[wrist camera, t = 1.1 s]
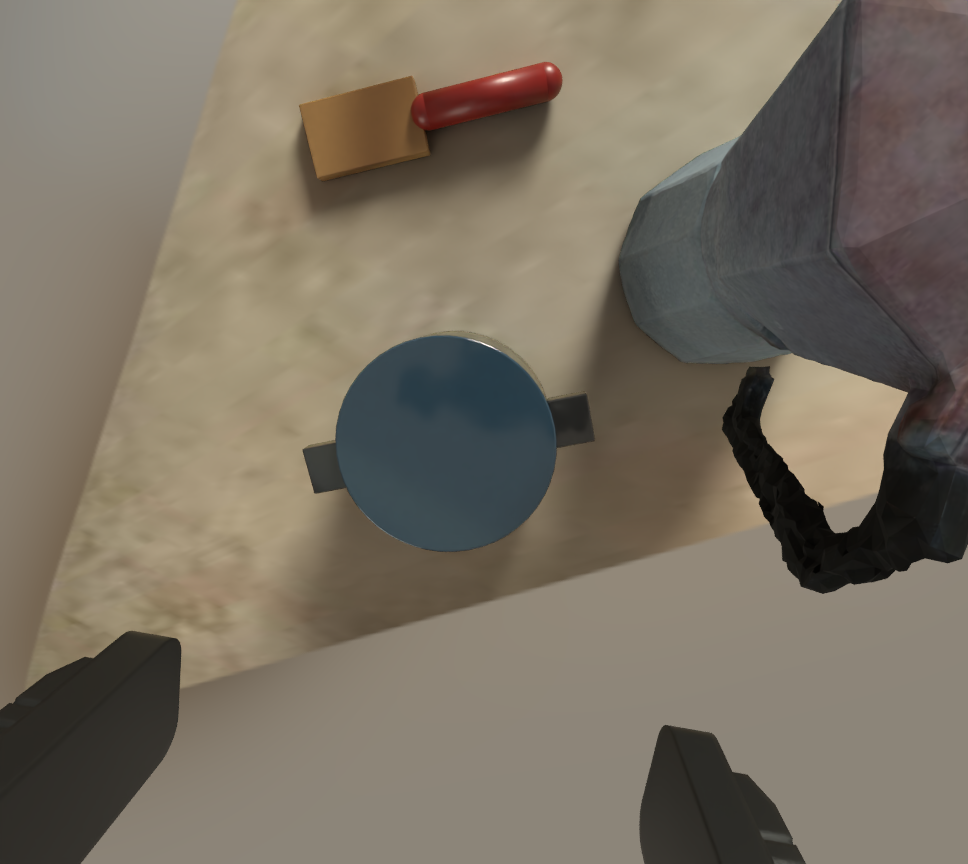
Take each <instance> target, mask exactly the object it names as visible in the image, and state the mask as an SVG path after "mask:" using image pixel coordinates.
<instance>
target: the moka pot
mask: <svg viewBox="0 0 968 864" xmlns="http://www.w3.org/2000/svg"><path fill="white" fill-rule="evenodd" d="M619 269H620V275H621V282H622V286H623V291H624V294H625V297H626V300H627V303H628V305H629V308H630V311H631V314H632V316H633V319H634V322H635V323H636V325H637V326H638V327H639V328H640V329H641V330H642V331H643V332H645V333H646V334H647V335H648V336H649V337H651V338H652V339H653V340H654V341H655V342H656V343H657V344H659V345H660V346H661V347H663V348H664V349H665V350H667V351H668V352H669V353H671V354H672V355H674V356H675V357H676V358H677V359H678V360H679V361H681V362H685V363H701V364H703V363H710V364H724V363H741V362H754V361H758V360H762V359H766V358H771V357H775V356H778V355H786V354H790V353H793V354H794V355H797V356H800V357H802V358H805V359H808V360H813V361H816V362H818V363H821V364H823V365H828V366H832V367H835V368H838V369H841V370H844V371H846V372H849V373H852V374H855V375H858V376H862V377H865V378H867V379H869V380H872V381H875V382H879V383H883V384H885V385H888V386H891V387H894V388H896V389H899V390H902V391H905V392H908V394H907V397H906V399H905V401H904V403H903V405H902V407H901V409H900V411H899V413H898V415H897V417H896V419H895V421H894V423H893V425H892V427H891V429H890V431H889V433H888V437H887V441H886V446H885V450H884V454H883V456H884V471H883V476H882V480H881V485H880V490H879V493H878V496H877V499H876V502H875V504H874V505H873V507H872V508H871V510H870V511H869V513H868V514H867V515H866V517H865V518H864V520H863V521H862V523H861V524H860V526H859V527H853V528H851V529H850V530H849V531H848V532H845V533H834V532H833V531H832V530H831V529H830V527H829V525H828V523H827V521H826V518H825V515H824V512H823V508H824V506H822V505H821V504H820V503H819V502H818V504H817V502H816V501H815V500H813V499H811V498H810V497H809V496H807V495H806V494H805V492H804V488H803V486H802V485H801V484H800V482H799V481H798V479H797V478H796V477H795V475H794V474H793V473H792V472H790V471H789V470H788V465H787V464H786V463H785V462H784V461H783V458H782V457H781V456H780V455H779V454H777V453H776V452H775V451H774V449H773V448H772V447H771V446H770V444H768V443H767V440H766V437H765V436H764V435H763V434H762V429H761V426H760V417H761V412H762V409H763V406H764V404H765V401H766V399H767V396H768V394H769V391H770V389H771V386H772V384H773V382H774V378H772V377H771V375H770V374H769V369H770V366H768V367H749V368H748V370H747V373H746V376H745V377H744V378H743V379H742V380H741V383H740V387H739V391H738V394H737V395H736V396H735V398H734V399H733V400H732V406H730V407H728V409H727V410H726V412H725V414H724V416H723V422H724V423H723V427H722V430H723V432H724V433H725V435H726V436H727V438H728V440H729V443H730V444H731V446H732V447H733V454H734V456H735V458H736V460H737V462H738V464H739V465H740V467H741V468H742V469H743V470H744V473H745V476H746V479H747V481H748V483H749V485H750V487H751V489H752V491H753V493H754V494H755V496H756V497H757V498H759V499H760V501H759V505H760V507H761V509H762V512H763V515H764V517H765V518H766V519H767V520H768V521H769V523H770V526H771V527H772V529H773V530H774V534H775V537H776V538H777V539H778V540H779V541H780V542H781V545H782V560H783V561H785V562H787V567H788V570H789V571H790V572H791V573H792V574H793V575H794V576H795V577H796V578H798V579H799V582H800V585H801V587H804V588H807V589H810V590H813V591H816V592H819V593H822V594H824V593H828V592H832V591H836V590H837V589H839V588H841V587H843V586H845V585H846V584H849V583H852V584H854V585H855V584H861V583H868V582H875V581H878V580H882V579H886V578H888V577H889V576H890V575H891V574H892V573H893V572H894V571H895V570H897V571H899V572H901V571H907V570H908V568H909V566H910V565H911V563H913V562H916V561H919V560H921V559H924V558H926V559H931V560H935V561H940V562H945V563H950V562H953V561H957V560H960V559H962V557H963V555H964V552H965V550H966V547H967V545H968V0H842V2H841V3H840V4H839V6H838V7H837V8H836V10H835V11H834V13H833V14H832V15H831V17H830V18H829V19H828V21H827V22H826V24H825V25H824V26H823V28H822V29H821V30H820V32H819V33H818V34H817V36H816V37H815V38H814V40H813V41H812V42H811V43H810V45H809V46H808V47H807V49H806V50H805V51H804V53H803V54H802V55H801V57H800V58H799V59H798V61H797V62H796V64H795V65H794V66H793V68H792V69H791V70H790V72H789V73H788V75H787V76H786V77H785V79H784V80H783V81H782V83H781V84H780V85H779V87H778V88H777V89H776V91H775V92H774V93H773V95H772V96H771V97H770V98H769V100H768V101H767V102H766V104H765V105H764V106H763V107H762V109H761V110H760V111H759V113H758V114H757V115H756V116H755V118H754V119H753V120H752V122H751V123H750V124H749V126H748V127H747V128H746V130H745V131H744V132H743V134H742V135H741V136H739V137H737V138H735V139H733V140H731V141H729V142H727V143H725V144H722V145H720V146H718V147H716V148H714V149H711V150H709V151H707V152H705V153H703V154H701V155H699V156H698V157H696V158H695V159H693V160H692V161H690V162H689V163H687V164H686V165H685V166H683V167H682V168H680V169H679V170H677V171H676V172H675V173H673V174H672V175H671V176H669V177H668V178H666V179H665V180H664V181H662V182H661V183H659V184H658V185H657V186H656V187H654V188H653V189H652V190H650V191H649V192H647V193H646V194H645V195H644V196H643V197H642V198H641V199H640V201H639V203H638V205H637V207H636V210H635V212H634V215H633V218H632V220H631V223H630V225H629V228H628V231H627V235H626V237H625V240H624V242H623V245H622V248H621V253H620V257H619ZM818 505H819V506H818Z"/></svg>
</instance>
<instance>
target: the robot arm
mask: <svg viewBox="0 0 968 864" xmlns="http://www.w3.org/2000/svg"><path fill="white" fill-rule="evenodd" d="M180 668H181V645H180V642H179V641H178V639H176V638H170V637H165V636H159V635H153V634H147V633H142V632H136V631H128V632H126V633H124V634H123V635H121V636H120V637H119V638H118V639H117V640H115V641H114V642H113V643H112V644H110V645H109V646H108V647H107V648H106V649H104V650H103V651H102V652H101V653H99V654H98V655H97V656H96V657H95V658H88V657H84V658H81V659H79V660H77V661H75V662H73V663H70V664H68V665H66V666H64V667H62V668H60V669H57V670H55V671H53V672H51V673H49V674H47V675H45V676H44V677H43V678H41V679H40V680H39V681H37V682H36V683H35V684H34V685H32V686H31V687H30V688H28V689H27V690H26V691H24V692H23V693H22V694H21V695H19V696H18V697H17V698H16V700H15V702H14V703H13V704H12V703H9V704H8V705H6V706H5V707H4V708H3V709H1V710H0V864H81V862H82V861H83V860H84V858H85V857H86V856H87V855H88V853H89V852H90V851H91V849H92V848H93V847H94V846H95V845H96V843H97V842H98V841H99V840H100V838H101V837H102V836H103V835H104V833H105V832H106V831H107V829H108V828H109V827H110V826H111V824H112V823H113V822H114V821H115V819H116V818H117V817H118V815H119V814H120V813H121V812H122V811H123V809H124V808H125V807H126V805H127V804H128V803H129V802H130V800H131V799H132V798H133V797H134V795H135V794H136V793H137V792H138V790H139V789H140V788H141V787H142V785H143V784H144V783H145V782H146V780H147V779H148V778H149V777H150V775H151V774H152V773H153V771H154V770H155V769H156V768H157V766H158V765H159V764H160V762H161V761H162V760H163V758H164V757H165V755H166V753H167V751H168V749H169V747H170V745H171V742H172V740H173V738H174V735H175V731H176V727H177V722H178V710H179V689H180ZM792 839H793V838H792V836H791V834H790V832H789V830H788V829H787V827H786V825H785V823H784V821H783V819H782V817H781V815H780V813H779V811H778V809H777V807H776V805H775V804H774V803H773V802H772V801H771V800H770V799H769V798H768V797H767V796H766V794H765V793H764V792H763V791H762V790H761V789H760V788H759V787H758V786H757V785H756V784H755V782H754V781H753V780H752V779H751V778H750V777H749V776H748V775H745V774H740V773H734V772H732V770H731V768H730V766H729V764H728V762H727V760H726V758H725V755H724V753H723V751H722V749H721V747H720V745H719V743H718V740H717V738H716V737H715V736H714V735H713V734H712V733H709V732H702V731H697V730H692V729H686V728H680V727H674V726H668V725H665V726H663V727H662V729H661V730H660V733H659V735H658V739H657V743H656V747H655V751H654V755H653V759H652V763H651V768H650V771H649V775H648V779H647V783H646V787H645V791H644V795H643V799H642V803H641V810H640V843H641V849H642V854H643V859H644V863H645V864H806V863H805V861H804V859H803V857H802V855H801V854H800V852H799V850H798V848H797V846H796V845H793V842H792Z"/></svg>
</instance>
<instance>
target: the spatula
mask: <svg viewBox="0 0 968 864" xmlns="http://www.w3.org/2000/svg"><path fill="white" fill-rule="evenodd" d="M561 87H562V75H561V72H560V70H559V69H558V67H557V66H556V65H554V64H552V63H550V62H543V63H539V64H535V65H531V66H527V67H523V68H519V69H515V70H511V71H507V72H503V73H499V74H495V75H492V76H488V77H484V78H480V79H476V80H472V81H468V82H464V83H460V84H456V85H452V86H448V87H444V88H440V89H436V90H433V91H429V92H425V93H421V94H419V95H418V92H417V88H416V83H415V80H414V78H413V76H409V77H405V78H401V79H397V80H393V81H389V82H386V83H382V84H378V85H374V86H370V87H366V88H362V89H358V90H355V91H351V92H347V93H343V94H339V95H335V96H331V97H327V98H324V99H320V100H316V101H312V102H308V103H304V104H300V105H299V107H300V111H301V115H302V119H303V123H304V127H305V131H306V136H307V140H308V144H309V148H310V152H311V156H312V160H313V164H314V168H315V172H316V176H317V178H318V179H320V180H321V181H326V180H330V179H334V178H338V177H342V176H346V175H350V174H355V173H359V172H363V171H367V170H371V169H375V168H379V167H383V166H387V165H392V164H396V163H400V162H404V161H408V160H412V159H416V158H420V157H425V156H429V155H430V149H429V144H428V140H427V135H426V130H434V129H438V128H442V127H446V126H450V125H454V124H458V123H462V122H467V121H471V120H475V119H479V118H483V117H487V116H491V115H495V114H499V113H503V112H507V111H511V110H515V109H519V108H523V107H527V106H531V105H535V104H539V103H543V102H547V101H550V100H552V99H554V98H555V97H556V96H557V95H558V94H559V92H560V90H561Z"/></svg>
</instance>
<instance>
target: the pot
mask: <svg viewBox="0 0 968 864" xmlns="http://www.w3.org/2000/svg"><path fill="white" fill-rule="evenodd" d="M592 441H595V436H594V431H593V425H592V419H591V414H590V408H589V402H588V397H587V394H586V392H585V391H581V392H576V393H571V394H566V395H561V396H556V397H551V398H548V399H547V397H546V395H545V392H544V390H543V387H542V385H541V383H540V381H539V380H538V378H537V376H536V374H535V373H534V372H533V370H532V369H531V368H530V366H529V365H528V364H527V363H526V362H525V361H524V360H523V359H522V358H521V357H520V356H519V355H518V354H517V353H515V352H514V351H513V350H511V349H510V348H509V347H507V346H506V345H504V344H502V343H500V342H499V341H497V340H494V339H492V338H489V337H487V336H484V335H480V334H476V333H472V332H464V331H446V332H439V333H433V334H430V335H426V336H423V337H419V338H416V339H413V340H409V341H406V342H403V343H401V344H399V345H396V346H394V347H392V348H390V349H389V350H387V351H385V352H384V353H382V354H380V355H379V356H378V357H377V358H375V359H374V360H373V361H372V362H370V363H369V364H368V365H367V366H366V367H365V368H364V369H363V370H362V372H361V373H360V374H359V375H358V376H357V378H356V379H355V380H354V382H353V383H352V385H351V386H350V388H349V390H348V392H347V394H346V396H345V398H344V400H343V403H342V406H341V409H340V411H339V415H338V420H337V425H336V438H335V440H332V441H327V442H322V443H317V444H312V445H309V446H307V447H306V448H304V449H303V454H304V457H305V461H306V465H307V468H308V472H309V475H310V479H311V483H312V486H313V490H314V493H315V494H317V493H322V492H327V491H332V490H338V489H343V488H347V490H348V492H349V494H350V496H351V497H352V499H353V500H354V502H355V503H356V505H357V506H358V507H359V509H360V510H361V511H362V512H363V513H364V514H365V516H366V517H367V518H368V519H369V520H371V521H372V522H373V523H374V524H375V525H376V526H377V527H379V528H380V529H381V530H383V531H384V532H385V533H387V534H388V535H390V536H392V537H394V538H396V539H397V540H399V541H402V542H404V543H407V544H409V545H412V546H414V547H418V548H422V549H426V550H432V551H440V552H457V551H466V550H471V549H476V548H480V547H483V546H486V545H488V544H491V543H494V542H496V541H498V540H500V539H502V538H503V537H505V536H507V535H509V534H510V533H511V532H513V531H514V530H516V529H517V528H518V527H519V526H521V525H522V524H523V523H524V522H525V521H526V520H527V519H528V518H529V517H530V516H531V514H532V513H533V512H534V511H535V510H536V508H537V507H538V505H539V504H540V502H541V501H542V499H543V497H544V496H545V494H546V491H547V489H548V487H549V485H550V482H551V479H552V476H553V472H554V468H555V462H556V455H557V448H560V447H566V446H571V445H576V444H582V443H587V442H592Z"/></svg>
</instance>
